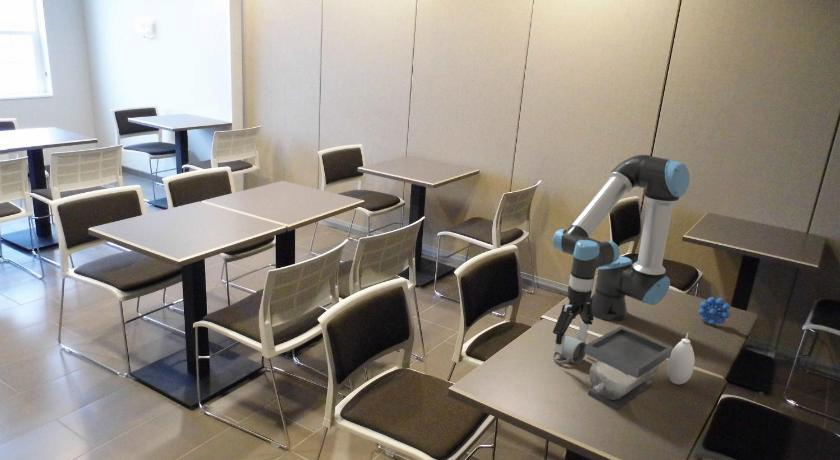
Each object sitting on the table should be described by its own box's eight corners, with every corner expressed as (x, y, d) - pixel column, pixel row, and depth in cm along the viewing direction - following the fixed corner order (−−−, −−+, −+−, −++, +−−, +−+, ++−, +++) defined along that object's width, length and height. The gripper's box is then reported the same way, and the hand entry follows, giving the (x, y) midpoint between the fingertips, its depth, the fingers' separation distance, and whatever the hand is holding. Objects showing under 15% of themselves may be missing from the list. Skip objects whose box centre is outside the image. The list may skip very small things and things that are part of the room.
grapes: (730, 327, 235) (737, 299, 231) (723, 332, 230) (730, 303, 226) (700, 316, 243) (707, 289, 239) (693, 321, 238) (699, 293, 234)
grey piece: (613, 367, 200) (620, 326, 195) (663, 391, 188) (672, 348, 183) (577, 389, 186) (584, 345, 181) (628, 416, 174) (638, 370, 169)
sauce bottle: (663, 385, 191) (674, 335, 185) (663, 373, 198) (674, 324, 192) (690, 392, 188) (702, 340, 183) (689, 379, 195) (700, 330, 190)
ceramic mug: (565, 349, 209) (568, 330, 207) (585, 360, 203) (588, 339, 201) (546, 359, 202) (549, 339, 200) (566, 370, 197) (569, 349, 194)
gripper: (591, 276, 206) (581, 332, 212) (547, 292, 189) (538, 352, 196) (610, 283, 201) (600, 340, 207) (568, 300, 184) (557, 362, 191)
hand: (570, 346), depth 202 cm, fingers open, 13 cm apart
